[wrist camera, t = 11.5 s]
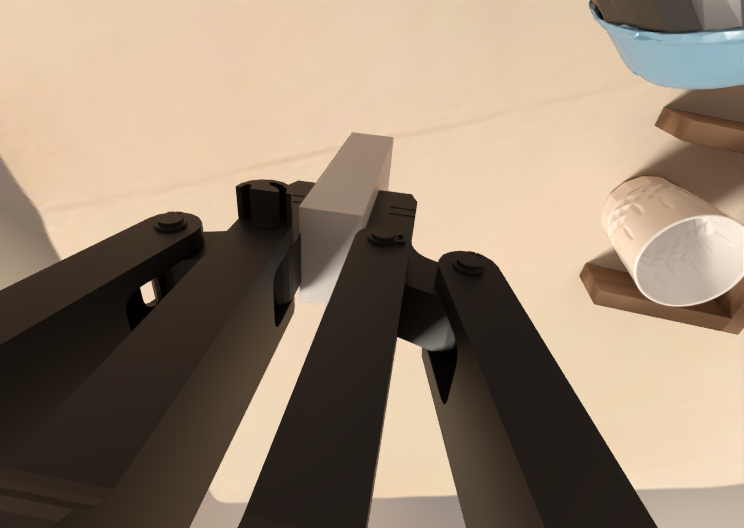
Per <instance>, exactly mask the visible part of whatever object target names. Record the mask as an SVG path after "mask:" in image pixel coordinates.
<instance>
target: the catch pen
mask: <svg viewBox="0 0 744 528" xmlns="http://www.w3.org/2000/svg"><path fill="white" fill-rule="evenodd" d="M655 126H656V127H658V128H660V129H662V130H664V131H665V132H667V133H669V134H671V135H673V136H675V137H676V138H678V139H680V140H682V141H685V142H690V143H695V144H700V145H705V146H710V147H715V148H720V149H725V150H730V151H735V152H740V153H744V123H739V122H734V121H729V120H724V119H719V118H714V117H709V116H704V115H699V114H694V113H689V112H684V111H679V110H674V109H669V108H663V110H662V112H661V114H660V116H659V118H658V120H657V122H656V124H655ZM580 278H581V280H582V282H583V284H584V286H585V288H586V290H587V292H588V293H589V295H590V297H591V299H592V301H593V303H594V304H596V305H600V306H605V307H610V308H615V309H619V310H624V311H629V312H633V313H638V314H643V315H648V316H652V317H657V318H662V319H666V320H671V321H676V322H681V323H685V324H690V325H695V326H699V327H704V328H709V329H714V330H718V331H723V332H728V333H732V334H737V335H738V334H739V333H740V332H741V331H742V329H743V328H744V277H743V278H742V279H741V280H740V281H739V282H738V283H737V284H736V285H735V286H734V287H732V288H731V289H730V290H728V291H727V292H725V293H724V294H722V295H720V296H718V297H716V298H714V299H712V300H709V301H707V302H704V303H700V304H696V305H691V306H667V305H663V304H659V303H656V302H654V301H652V300H650V299H649V298H647V297H646V296H645V295H643V294H642V292H641V291H640V290H639V289H638V287H637V285H636V284H635V282H634V280H633V279H632V277H631V275H630V274H629V273H627V272H622V271H617V270H612V269H608V268H603V267H598V266H593V265H588V264H585V266H584V268H583V270H582V272H581V274H580Z"/></svg>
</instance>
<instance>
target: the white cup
mask: <svg viewBox="0 0 744 528" xmlns="http://www.w3.org/2000/svg"><path fill="white" fill-rule="evenodd" d="M601 223H602V225H603V227H604V228H605V230H606V232H607V233H608V235H609V237H610V240H611V243H612V245H613V246H614V248H615V250H616V252H617V254H618V255H619V257H620V259H621V261H622V263H623V264H624V266H625V267H626V269H627V270H628V272H629V274H630V275H631V277H632V279H633V280H634V282H635V284H636V285H637V287H638V289H639V290H640V291H641V292H642V294H643V295H645V296H646V297H647V298H649V299H650V300H652V301H654V302H656V303H659V304H663V305H667V306H691V305H696V304H700V303H704V302H707V301H709V300H712V299H714V298H716V297H718V296H720V295H722V294H724V293H725V292H727V291H728V290H730V289H731V288H732V287H734V286H735V285H736V284H737V283H738V282H739V281H740V280H741V279H742V278H743V277H744V225H743V224H742V223H740V222H739V221H737V220H736V219H734V218H732V217H731V216H729V215H728V214H726V213H724V212H723V211H721V210H719V209H718V208H716V207H715V206H713V205H711V204H710V203H708V202H707V201H705V200H703V199H702V198H699V197H698V196H696V195H695V194H693V193H691V192H689V191H687V190H686V189H684V188H680V187H678V186H676V185H675V184H673V183H671V182H669V181H667V180H666V179H664V178H662V177H655V176H641V177H638V178H635V179H632V180H630V181H627V182H624V183H623V184H622V185H620V186H619V187H618V188H617V189H615V190H614V191H613V192H612V193H611V194H610V195H609V197H608V198H607V200H606V202H605V204H604V206H603V207H602V221H601Z"/></svg>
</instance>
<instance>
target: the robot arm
mask: <svg viewBox="0 0 744 528" xmlns="http://www.w3.org/2000/svg"><path fill="white" fill-rule="evenodd" d="M589 7H590V10H591V13H592V15H593V17H594V19H595V20H596V21H597V22H598V23H599V24H600V25H601V26H602V27H603V28H604V29H605V30H606V31H607V32H608V34H609V36H610V38H611V40H612V41H613V43H614V45H615V47H616V49H617V51H618V52H619V54H620V56H621V58H622V60H623V61H624V63H625V65H626V66H627V67H628V68H629V69H630V70H631V71H632V72H633V73H634V74H636V75H638V76H641V77H642V78H643V79H645V80H646V81H649V82H651V83H652V84H655V85H658V86H663V87H668V88H676V89H693V90H694V89H715V88H724V87H732V86H738V85H744V0H590V2H589ZM393 138H394V137H385V136H377V135H369V134H361V133H353V132H352V133H351V135H350V136H349V137H348V139H347V140H346V142H345V143H344V144H343V146H342V147H341V149H340V150H339V151H338V153H337V154H336V156H335V157H334V158H333V160H332V161H331V163H330V164H329V165H328V167H327V168H326V170H325V171H324V172H323V174H322V175H321V177H320V178H319V179H318V181H317V182H316V183H313V182H305V181H296V182H294V183H292V184H289V185H287V184H285V183H283V182H280V181H275V180H263V179H262V180H251V181H247V182H243V183H241V184H239V185H237V186H236V195H237V206H238V217H239V219H238V220H237V221H236V222H235V223H234V224H233V225H232V226H231V227H230V228H229V229H228V230H227V231H216V232H203V226H202V221H201V220H200V218H199V217H197V216H195V215H193V214H188V213H183V212H176V213H175V212H167V213H165V214H159V215H156V216H153V217H151V218H148V219H146V220H144V221H142V222H140V223H138V224H136V225H134V226H132V227H130V228H128V229H125V230H123V231H121V232H119V233H117V234H115V235H113V236H111V237H109V238H107V239H105V240H103V241H101V242H99V243H97V244H95V245H93V246H91V247H89V248H87V249H84V250H82V251H80V252H78V253H76V254H74V255H72V256H70V257H68V258H66V259H64V260H62V261H60V262H58V263H56V264H54V265H52V266H50V267H48V268H45V269H44V270H41V271H39V272H37V273H35V274H33V275H31V276H29V277H27V278H25V279H23V280H21V281H19V282H17V283H15V284H13V285H11V286H9V287H7V288H5V289H2V290H1V291H0V528H189V527H190V525H191V523H192V521H193V519H194V517H195V515H196V513H197V511H198V509H199V507H200V505H201V503H202V501H203V499H204V497H205V494H206V492H207V490H208V488H209V486H210V484H211V482H212V480H213V478H214V476H215V474H216V472H217V470H218V468H219V466H220V464H221V462H222V460H223V457H224V455H225V453H226V451H227V449H228V447H229V445H230V443H231V441H232V439H233V437H234V435H235V433H236V431H237V429H238V427H239V425H240V422H241V420H242V418H243V416H244V414H245V412H246V410H247V408H248V406H249V404H250V402H251V400H252V398H253V396H254V394H255V392H256V390H257V387H258V385H259V383H260V381H261V379H262V377H263V375H264V373H265V371H266V369H267V367H268V365H269V363H270V361H271V359H272V357H273V355H274V352H275V350H276V348H277V346H278V344H279V342H280V340H281V338H282V336H283V334H284V332H285V330H286V328H287V326H288V324H289V322H290V320H291V317H292V315H293V313H294V308H295V303H294V295H295V293H296V291H297V289H298V287H299V285H300V302H306V303H313V304H319V305H326V306H327V307H326V309H325V312H324V314H323V317H322V319H321V322H320V325H319V327H318V330H317V332H316V335H315V337H314V340H313V342H312V345H311V347H310V350H309V352H308V355H307V357H306V360H305V362H304V365H303V367H302V370H301V372H300V375H299V377H298V380H297V382H296V385H295V387H294V390H293V392H292V395H291V397H290V400H289V402H288V405H287V407H286V410H285V412H284V415H283V417H282V420H281V422H280V425H279V427H278V430H277V432H276V435H275V437H274V440H273V442H272V445H271V447H270V450H269V452H268V455H267V457H266V460H265V462H264V465H263V467H262V470H261V472H260V475H259V477H258V480H257V482H256V485H255V487H254V490H253V492H252V495H251V498H250V500H249V503H248V505H247V508H246V510H245V513H244V515H243V517H242V519H241V522H240V524H239V526H238V528H368V522H369V516H370V509H371V503H372V496H373V490H374V483H375V477H376V470H377V464H378V457H379V451H380V445H381V438H382V432H383V425H384V419H385V412H386V406H387V399H388V393H389V387H390V380H391V374H392V367H393V361H394V354H395V349H396V342H397V337H399V338H401V339H404V340H406V341H408V342H411V343H413V344H416V345H418V346H420V347H422V359H423V363H424V366H425V370H426V374H427V378H428V382H429V386H430V390H431V394H432V397H433V401H434V405H435V409H436V413H437V417H438V421H439V425H440V428H441V432H442V436H443V440H444V444H445V448H446V452H447V456H448V459H449V463H450V467H451V471H452V475H453V479H454V483H455V487H456V490H457V494H458V498H459V502H460V506H461V510H462V514H463V518H464V521H465V525H466V528H657V526H656V524H655V522H654V521H653V519H652V518H651V516H650V515H649V513H648V511H647V509H646V508H645V506H644V504H643V503H642V501H641V500H640V498H639V496H638V495H637V493H636V491H635V490H634V488H633V486H632V485H631V483H630V482H629V480H628V478H627V477H626V475H625V473H624V472H623V470H622V468H621V467H620V465H619V464H618V462H617V460H616V459H615V457H614V455H613V454H612V452H611V450H610V449H609V447H608V446H607V444H606V442H605V441H604V439H603V437H602V436H601V434H600V433H599V431H598V429H597V428H596V426H595V424H594V423H593V421H592V419H591V418H590V416H589V415H588V413H587V411H586V410H585V408H584V406H583V405H582V403H581V401H580V400H579V398H578V397H577V395H576V393H575V392H574V390H573V388H572V387H571V385H570V384H569V382H568V380H567V379H566V377H565V375H564V374H563V372H562V370H561V369H560V367H559V366H558V364H557V362H556V361H555V359H554V357H553V356H552V354H551V352H550V351H549V349H548V348H547V346H546V344H545V343H544V341H543V339H542V338H541V336H540V334H539V333H538V331H537V330H536V328H535V326H534V325H533V323H532V321H531V320H530V318H529V317H528V315H527V313H526V312H525V310H524V308H523V307H522V305H521V303H520V302H519V300H518V299H517V297H516V295H515V294H514V292H513V290H512V289H511V287H510V285H509V284H508V282H507V281H506V279H505V277H504V276H503V274H502V272H501V271H500V269H499V267H498V266H497V265H496V264H495V263H494V262H493V261H492V260H490V259H488V258H486V257H485V256H483V255H481V254H478V253H477V254H476V253H475V252H471V251H468V252H466V251H454V252H449V253H446V254H444V255H442V257H441V258H440V259H439V262H436V261H433V260H431V259H428V258H426V257H424V256H422V255H421V254H419V253H418V252H417V251H416V250H415V249H414V248H413V246H412V235H413V228H414V221H415V214H416V208H417V201H416V200H415V198H414V197H413V196H412V194H405V193H397V192H390V191H388V185H389V176H390V166H391V157H392V147H393ZM149 281H152V286H153V290H154V295H155V299H154V300H153V301H151V302H150V303H147V304H145V303H144V301H143V298H142V294H141V290H140V287H141V286H143V285H144V284H146V283H147V282H149Z"/></svg>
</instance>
